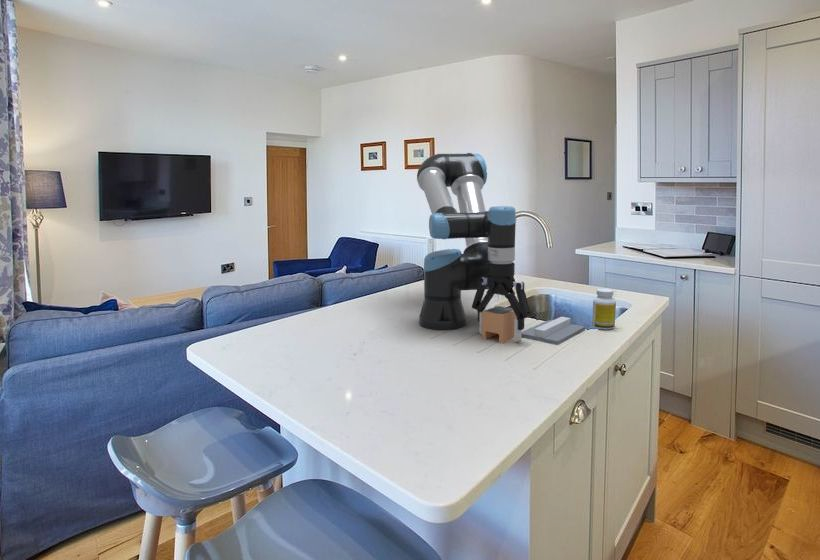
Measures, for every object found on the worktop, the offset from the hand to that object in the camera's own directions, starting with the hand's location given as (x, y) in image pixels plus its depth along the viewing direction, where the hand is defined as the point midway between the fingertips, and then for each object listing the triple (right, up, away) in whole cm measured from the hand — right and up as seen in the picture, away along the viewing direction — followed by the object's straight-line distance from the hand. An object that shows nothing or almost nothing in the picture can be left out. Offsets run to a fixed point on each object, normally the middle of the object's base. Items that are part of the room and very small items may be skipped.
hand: (499, 336), depth 146 cm
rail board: (+16, +1, +3) cm, 16 cm away
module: (0, 0, 0) cm, 0 cm away
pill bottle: (+33, +2, +8) cm, 34 cm away
